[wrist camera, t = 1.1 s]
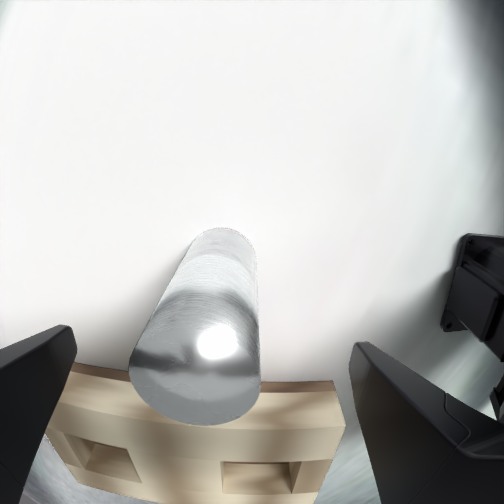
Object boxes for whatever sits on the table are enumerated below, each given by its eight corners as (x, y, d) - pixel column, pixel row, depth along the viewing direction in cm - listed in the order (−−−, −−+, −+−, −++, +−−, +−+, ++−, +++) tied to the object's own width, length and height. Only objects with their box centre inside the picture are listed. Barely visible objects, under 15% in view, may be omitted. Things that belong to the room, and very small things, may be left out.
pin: (257, 229, 16) (264, 332, 7) (255, 293, 17) (257, 428, 8) (186, 226, 16) (117, 322, 7) (189, 290, 17) (141, 418, 8)
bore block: (332, 380, 19) (346, 425, 15) (305, 473, 23) (310, 508, 19) (48, 356, 19) (22, 390, 15) (91, 452, 22) (78, 482, 19)
